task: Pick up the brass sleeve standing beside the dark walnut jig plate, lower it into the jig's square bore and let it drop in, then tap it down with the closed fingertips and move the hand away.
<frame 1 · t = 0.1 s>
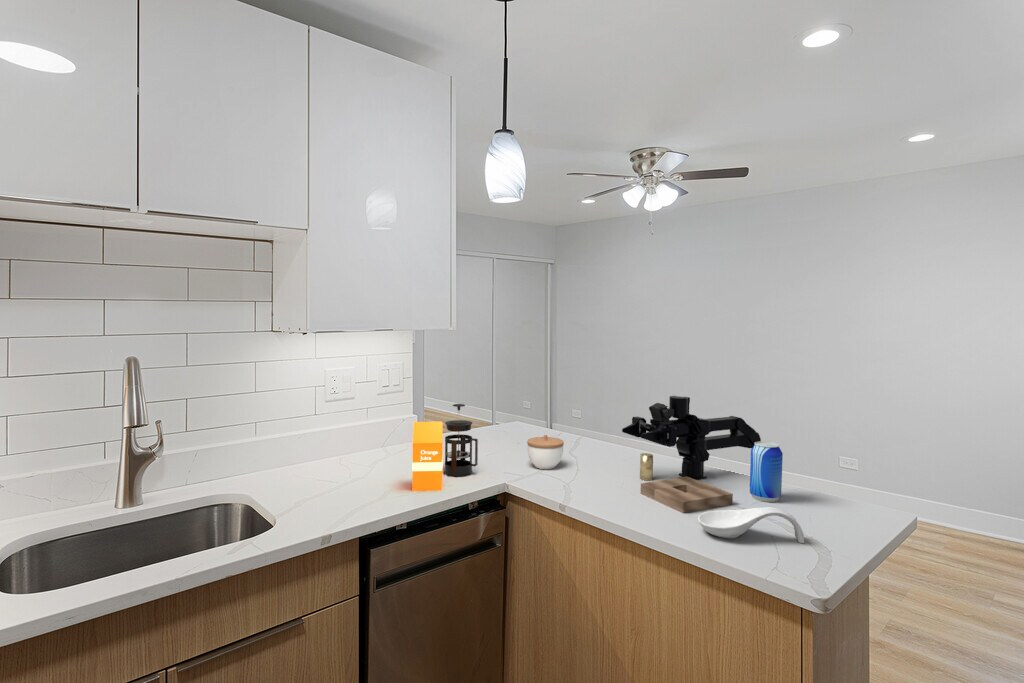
hand: (631, 433, 172), 17 cm above the worktop, tool horizontal, fingers open, 9 cm apart
lidded bowl: (545, 467, 194), on the worktop
spoon rest: (748, 537, 135), on the worktop
orange juice: (427, 487, 170), on the worktop
beer can: (765, 498, 163), on the worktop
walnut jig: (685, 498, 162), on the worktop
brass sleeve: (646, 479, 180), on the worktop
french press: (459, 473, 185), on the worktop
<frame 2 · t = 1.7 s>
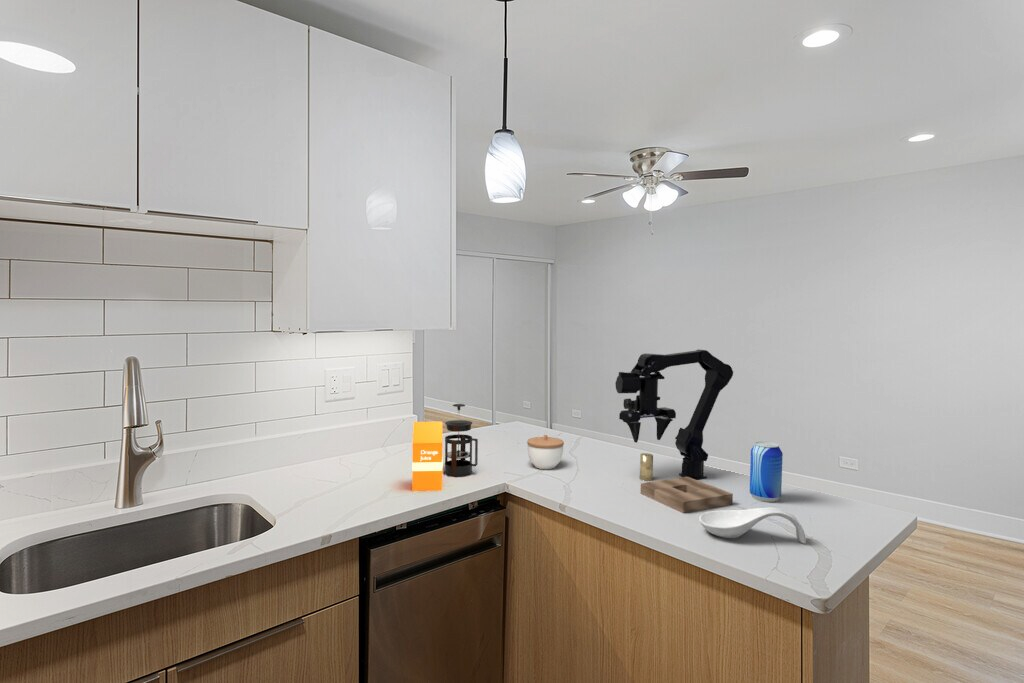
hand: (647, 441, 180), 12 cm above the worktop, tool pointing down, fingers open, 9 cm apart
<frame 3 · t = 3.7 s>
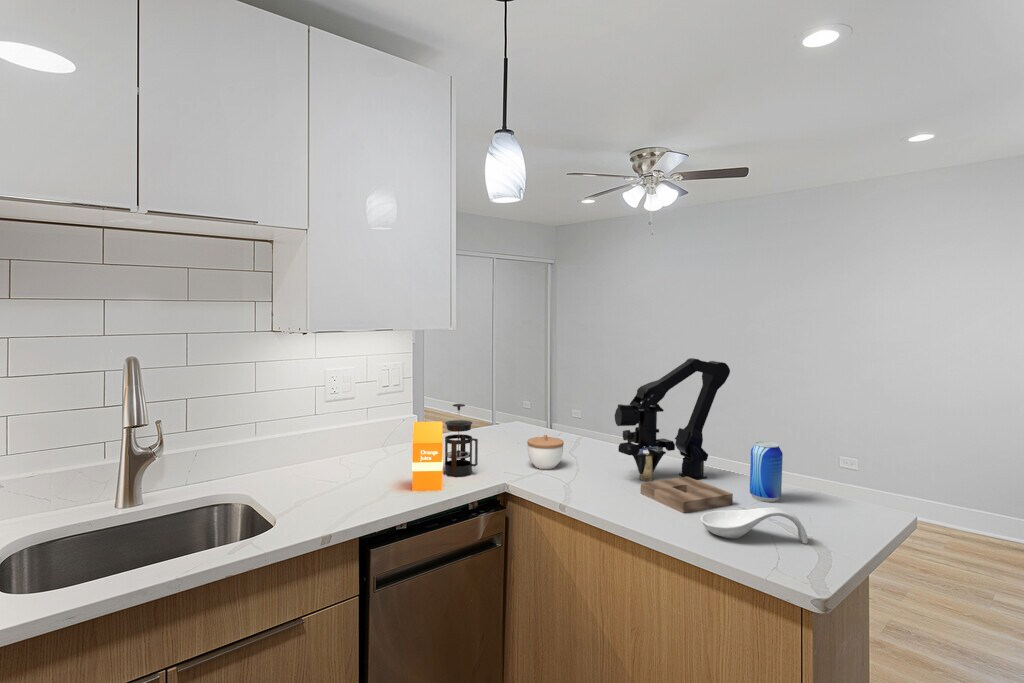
hand: (646, 473, 180), 2 cm above the worktop, tool pointing down, fingers closed on brass sleeve, 4 cm apart
brass sleeve: (646, 479, 180), on the worktop, touching gripper
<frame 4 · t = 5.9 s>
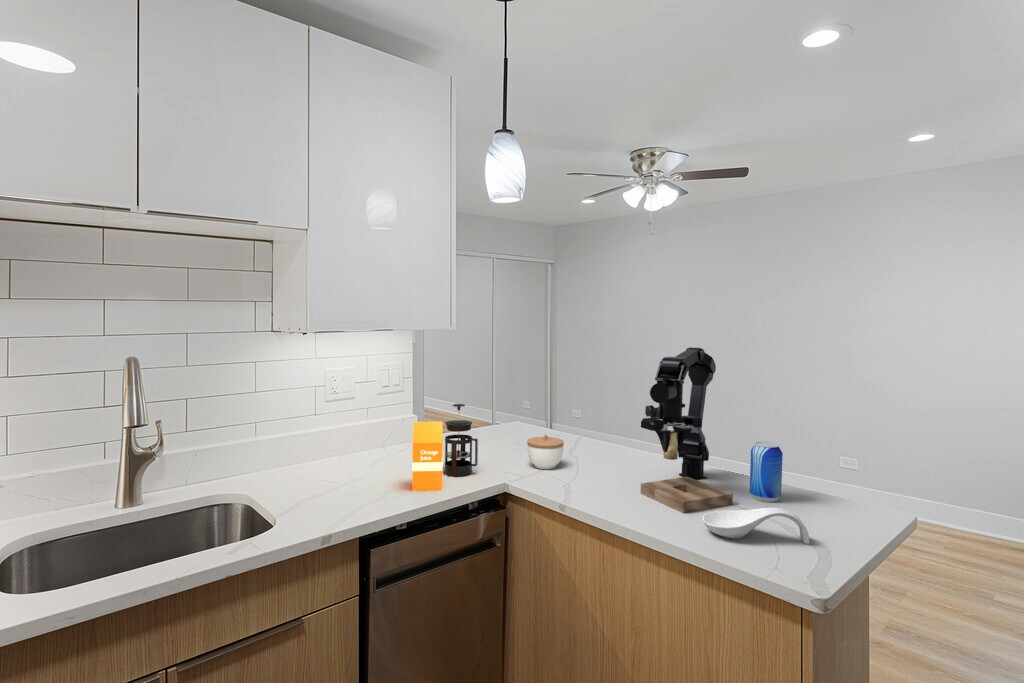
hand: (670, 451, 167), 12 cm above the worktop, tool pointing down, fingers closed on brass sleeve, 4 cm apart
brass sleeve: (670, 458, 167), point 10 cm above the worktop, touching gripper
when the fingers open (4 cm above the worktop, at t = 8.5 s): brass sleeve drops 2 cm, resting in walnut jig.
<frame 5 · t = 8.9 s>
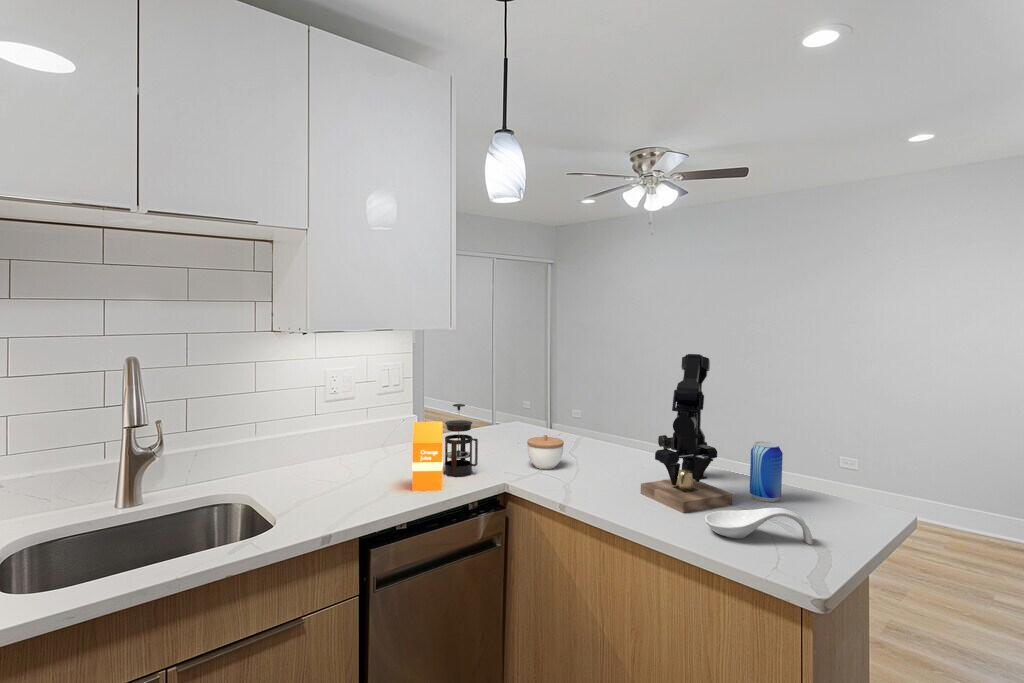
hand: (685, 483, 161), 4 cm above the worktop, tool pointing down, fingers open, 8 cm apart
brass sleeve: (685, 498, 162), resting in walnut jig
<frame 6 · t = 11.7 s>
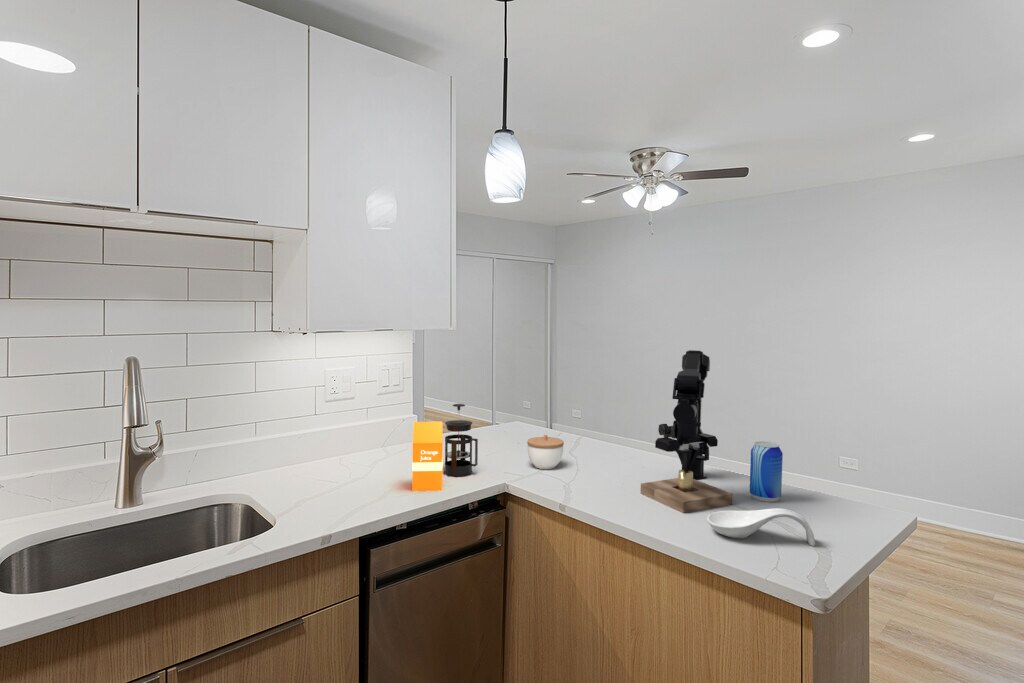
hand: (685, 471, 161), 8 cm above the worktop, tool pointing down, fingers closed, pressing on brass sleeve
brass sleeve: (685, 498, 162), resting in walnut jig, touching gripper
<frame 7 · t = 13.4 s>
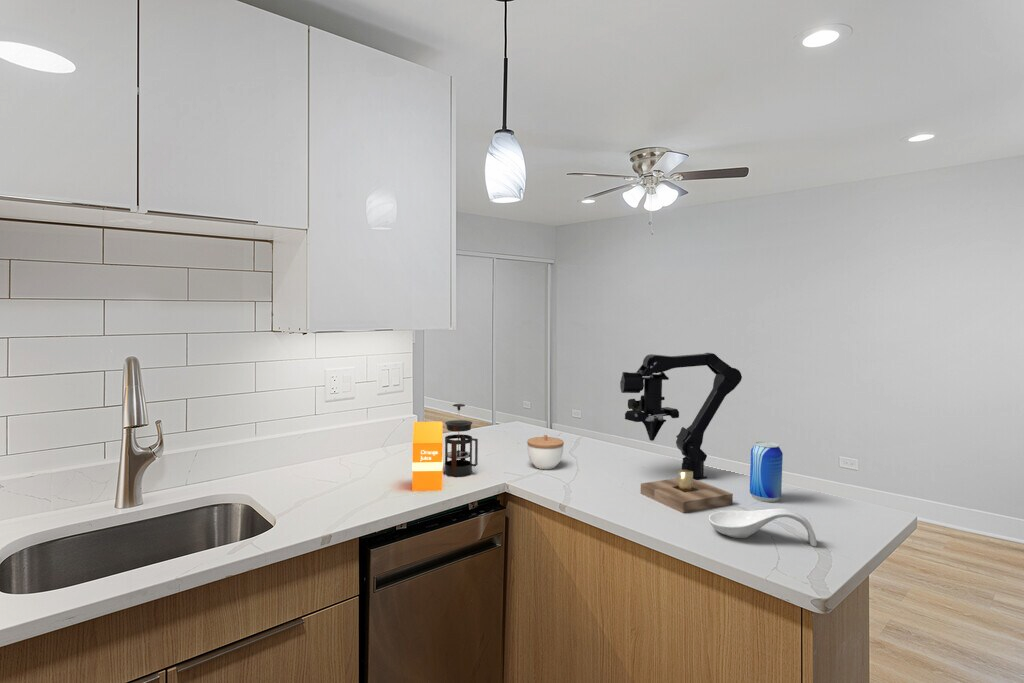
hand: (651, 440, 183), 12 cm above the worktop, tool pointing down, fingers closed
brass sleeve: (685, 498, 162), resting in walnut jig
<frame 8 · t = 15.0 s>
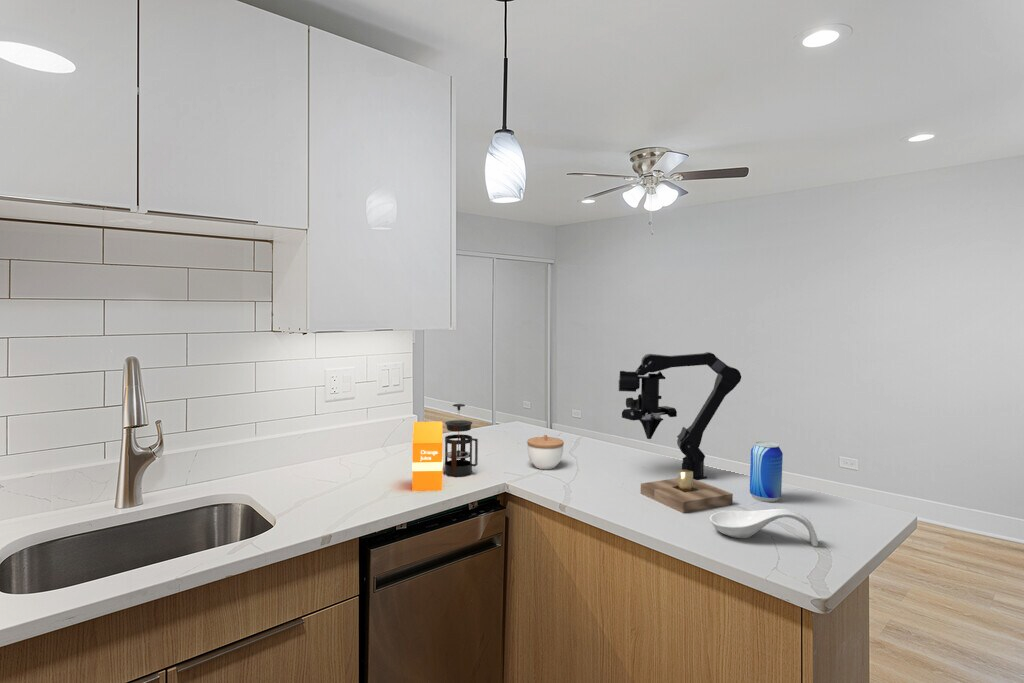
hand: (649, 438, 185), 12 cm above the worktop, tool pointing down, fingers closed
at the end: brass sleeve 0.1 cm off-centre on the walnut jig, point 0.0 cm above the walnut jig's base; brass sleeve tilted 0°; the gripper is holding nothing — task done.
